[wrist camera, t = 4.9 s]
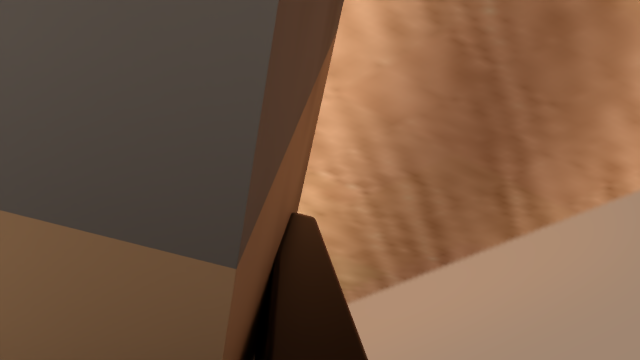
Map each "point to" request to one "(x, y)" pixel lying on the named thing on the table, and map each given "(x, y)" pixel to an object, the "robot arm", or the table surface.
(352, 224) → the table surface
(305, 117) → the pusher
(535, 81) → the table surface
